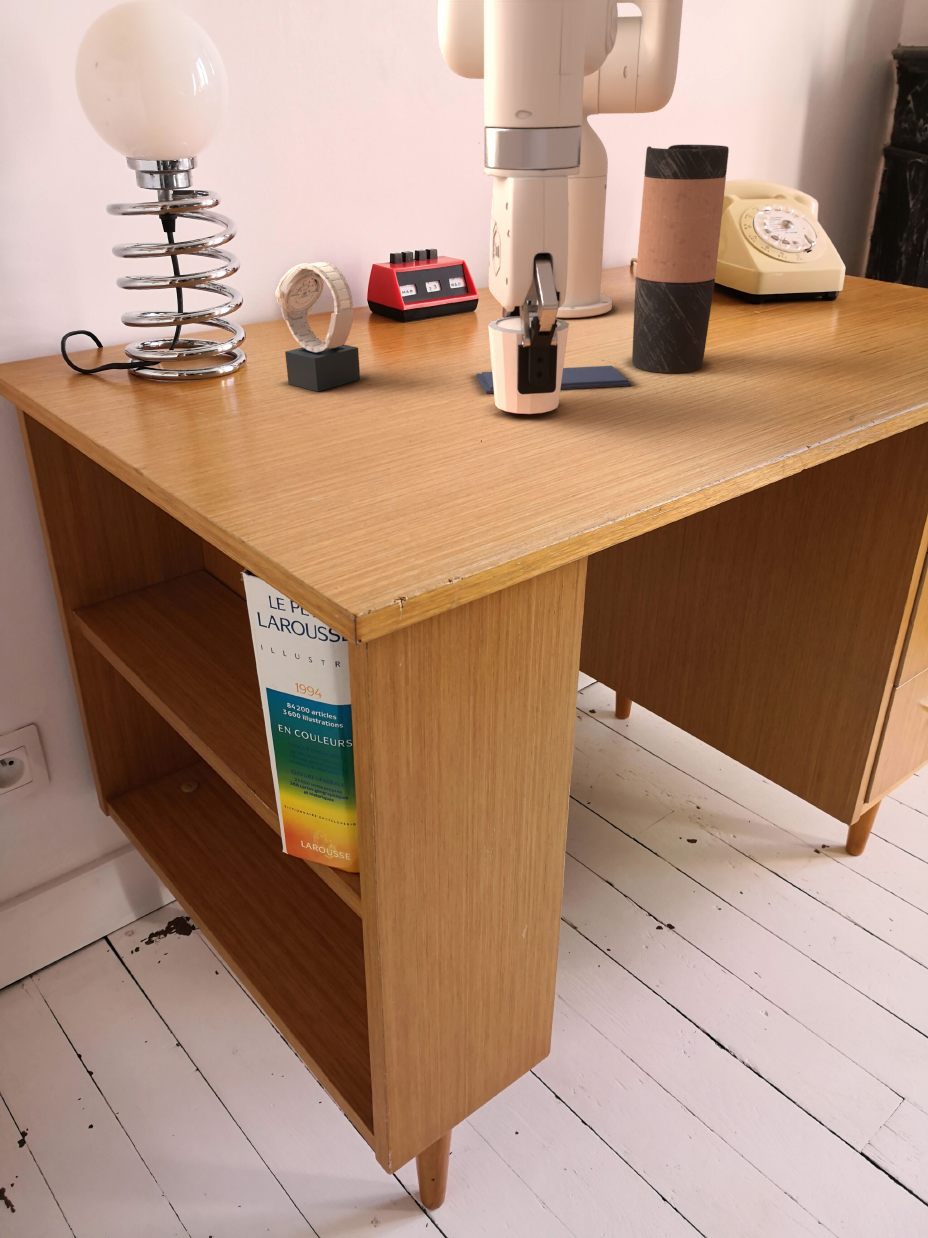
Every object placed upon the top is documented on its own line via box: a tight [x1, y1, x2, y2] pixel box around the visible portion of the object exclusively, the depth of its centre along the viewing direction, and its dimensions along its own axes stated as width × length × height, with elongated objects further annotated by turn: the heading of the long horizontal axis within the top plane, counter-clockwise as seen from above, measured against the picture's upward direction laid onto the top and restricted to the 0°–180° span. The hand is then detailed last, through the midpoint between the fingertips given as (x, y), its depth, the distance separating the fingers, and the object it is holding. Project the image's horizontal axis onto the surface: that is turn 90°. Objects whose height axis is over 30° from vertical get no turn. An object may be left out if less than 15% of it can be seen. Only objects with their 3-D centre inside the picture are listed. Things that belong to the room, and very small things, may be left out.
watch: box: [274, 261, 361, 393], centre depth 90 cm, size 6×8×11 cm
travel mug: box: [631, 144, 730, 374], centre depth 92 cm, size 8×8×20 cm
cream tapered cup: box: [487, 316, 570, 415], centre depth 82 cm, size 7×7×7 cm
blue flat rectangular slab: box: [475, 365, 632, 394], centre depth 92 cm, size 6×14×1 cm, turn 98°
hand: (527, 378), depth 83 cm, fingers closed on cream tapered cup, 6 cm apart
